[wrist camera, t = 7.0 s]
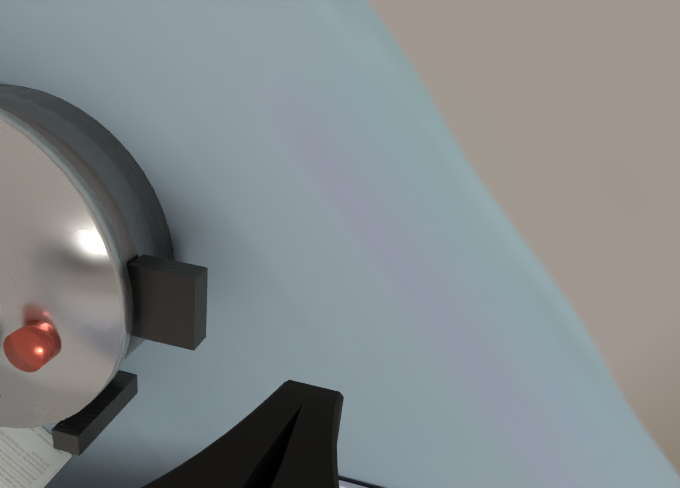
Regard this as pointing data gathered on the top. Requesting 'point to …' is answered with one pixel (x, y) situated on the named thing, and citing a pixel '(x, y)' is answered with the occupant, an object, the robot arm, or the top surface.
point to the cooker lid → (55, 284)
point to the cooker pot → (136, 242)
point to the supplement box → (28, 457)
